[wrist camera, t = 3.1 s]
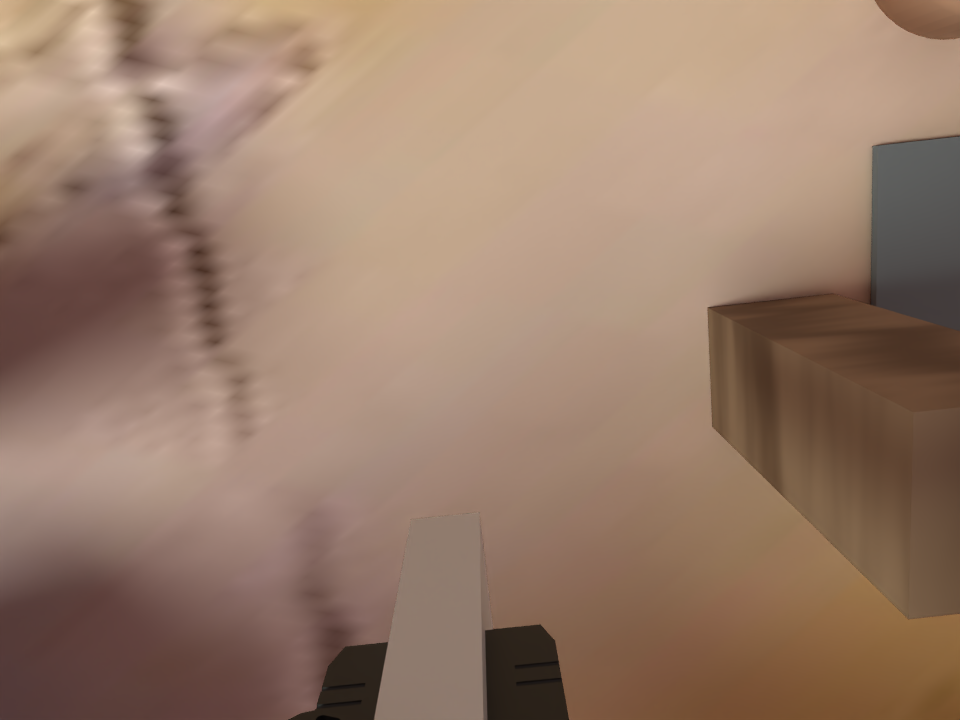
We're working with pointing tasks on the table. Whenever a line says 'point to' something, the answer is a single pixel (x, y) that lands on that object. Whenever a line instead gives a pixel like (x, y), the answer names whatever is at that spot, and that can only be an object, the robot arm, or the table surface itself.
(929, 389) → the walnut block
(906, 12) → the beige short cylinder
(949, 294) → the mat
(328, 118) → the table surface
